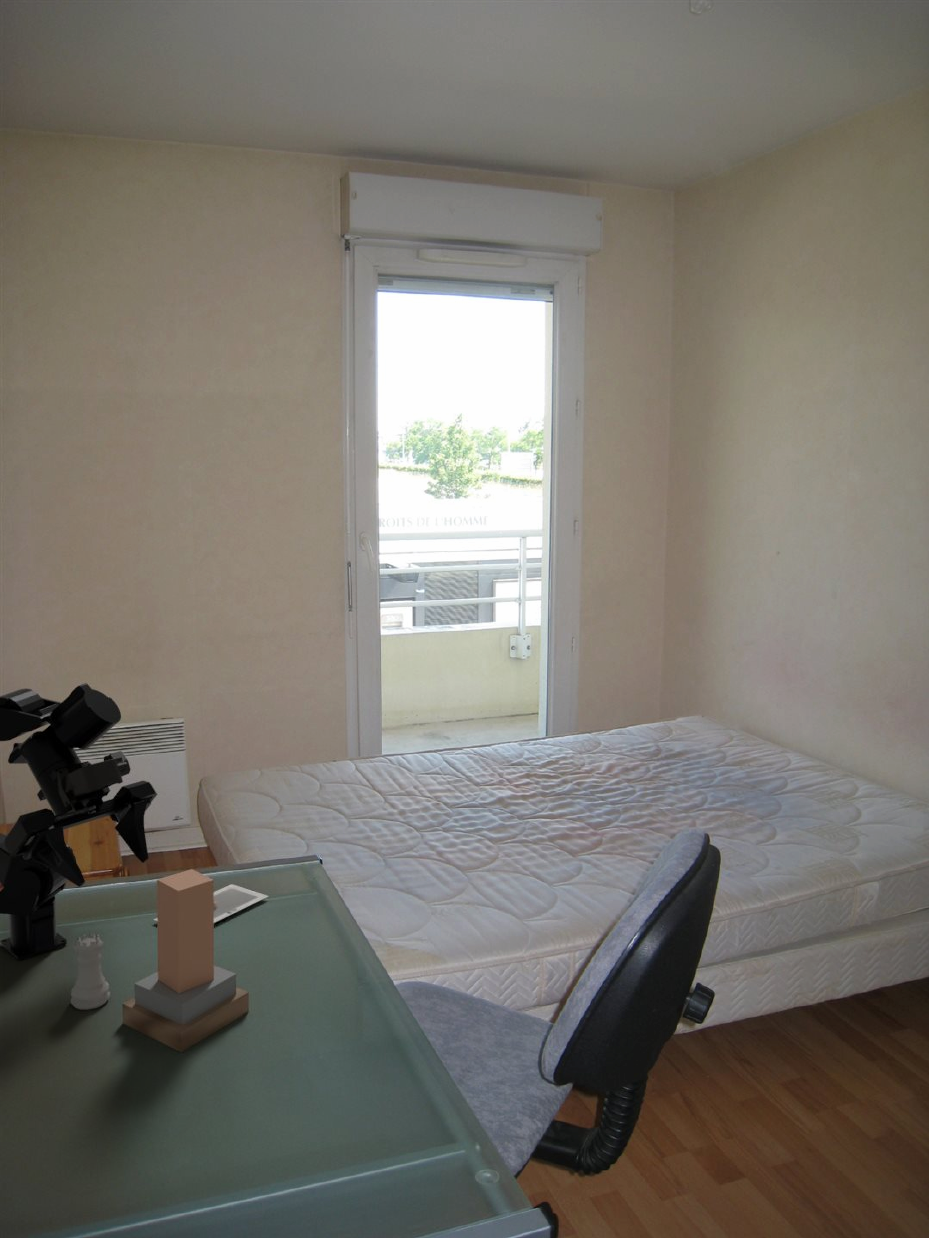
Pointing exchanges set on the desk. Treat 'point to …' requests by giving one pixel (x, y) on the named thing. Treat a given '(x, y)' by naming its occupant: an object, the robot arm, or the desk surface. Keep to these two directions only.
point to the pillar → (185, 930)
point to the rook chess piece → (89, 975)
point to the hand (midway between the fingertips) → (115, 872)
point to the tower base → (191, 1031)
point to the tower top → (184, 996)
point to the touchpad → (233, 900)
